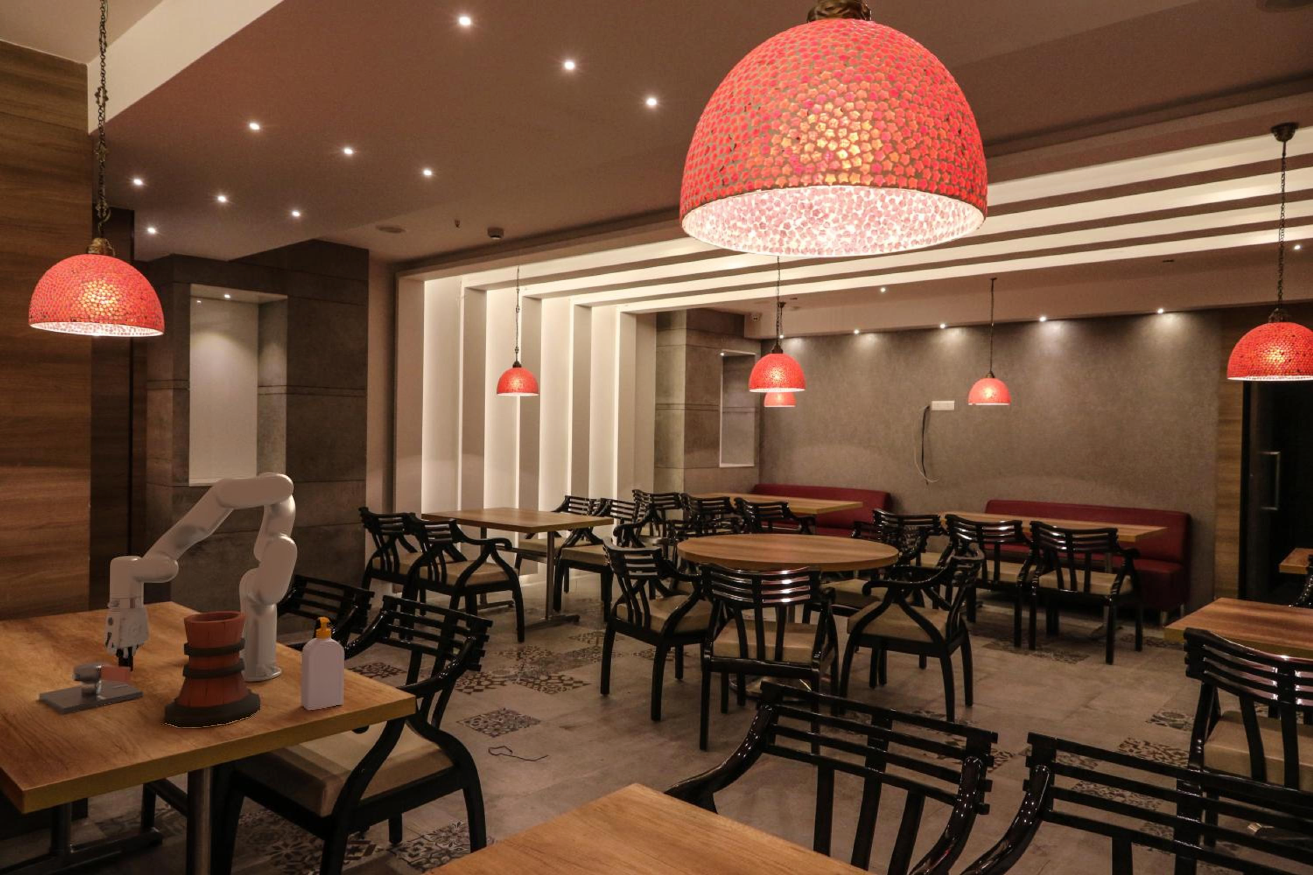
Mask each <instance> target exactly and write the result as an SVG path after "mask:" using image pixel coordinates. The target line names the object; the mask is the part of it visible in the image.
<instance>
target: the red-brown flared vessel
mask: <svg viewBox="0 0 1313 875" xmlns="http://www.w3.org/2000/svg"><path fill="white" fill-rule="evenodd" d="M245 619H246V614H245V613H242V612H241V611H235V610H234V611H233V610H227V611H226V610H224V611H223V610H220V611H210V612H202V613H195V614H191V615H188V616H186V617H184V618H183V625H184V629H185V630H184V631H185V635H186V636H185V637H186V640H187V642H185V643H183V656H188V662H187V663H185V664H183V669H182V677H183V678H184V679H183V684H182V685H181V689H180V691H179V693H178V696H176V698H173V701H172V702H171V703H169V704H167V705H165V706H164V714H163V715H164V720H163V722H164V723H167V724H171V725H174V726H177V727H203V726H211V725H217V724H226V723H229V722H232V721H235V720H240V719H242V718H246V717H250V716H251V715H252V714H254V713H256V712H257V711H258V710H260V711H261V697H260V695H259V694H258V693H255V692H252V688H248V687H247V684H246V681H244V678H243V675H242V672H241V671H243V670H245V666H244V660H243V658H240V650H242V649H244V646H245V639H244V638H242V632H243V628H244V623H245ZM257 713H258V712H257ZM257 713H256V714H257ZM254 715H255V714H254ZM251 717H252V716H251ZM251 717H250V718H251ZM167 724H166V725H167Z"/></svg>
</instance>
